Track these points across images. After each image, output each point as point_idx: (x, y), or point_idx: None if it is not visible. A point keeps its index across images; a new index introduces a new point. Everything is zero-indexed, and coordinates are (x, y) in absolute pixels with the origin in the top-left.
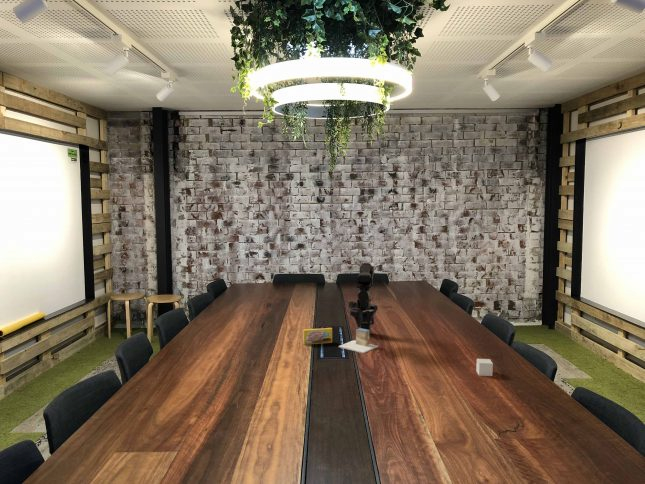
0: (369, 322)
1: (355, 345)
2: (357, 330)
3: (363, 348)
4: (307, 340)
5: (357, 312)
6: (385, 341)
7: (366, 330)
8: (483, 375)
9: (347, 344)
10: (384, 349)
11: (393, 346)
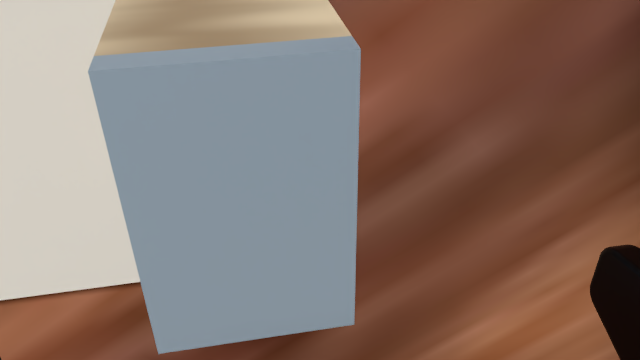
0: (614, 347)
1: (50, 13)
2: (105, 118)
3: (56, 210)
4: None
5: None
6: (607, 164)
7: (270, 310)
8: None
9: None
10: (298, 338)
11: (464, 328)
